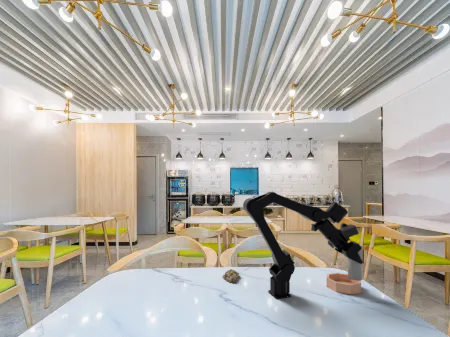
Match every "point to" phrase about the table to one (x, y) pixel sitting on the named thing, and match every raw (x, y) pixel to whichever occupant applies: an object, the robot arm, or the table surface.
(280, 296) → the robot arm
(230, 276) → the mineral rock
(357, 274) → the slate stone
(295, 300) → the table surface
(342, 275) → the terracotta bowl
